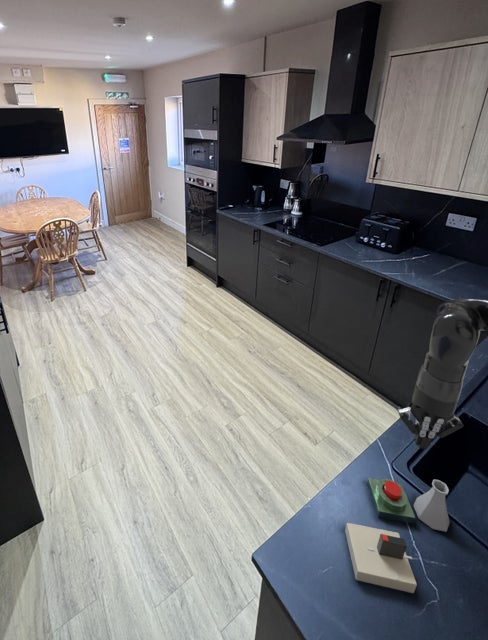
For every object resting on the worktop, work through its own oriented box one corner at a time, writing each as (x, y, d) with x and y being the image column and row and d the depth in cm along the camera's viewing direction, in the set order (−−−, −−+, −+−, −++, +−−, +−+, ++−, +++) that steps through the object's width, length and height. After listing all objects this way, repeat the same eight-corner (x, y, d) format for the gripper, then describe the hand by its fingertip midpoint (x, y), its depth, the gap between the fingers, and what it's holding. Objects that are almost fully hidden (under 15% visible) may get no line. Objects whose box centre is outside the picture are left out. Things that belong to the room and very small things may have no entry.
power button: (396, 486, 82) (398, 482, 81) (402, 502, 78) (404, 497, 78) (381, 484, 82) (382, 479, 82) (386, 499, 79) (387, 494, 79)
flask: (412, 493, 84) (420, 465, 80) (447, 508, 80) (457, 480, 77) (414, 520, 78) (423, 492, 75) (451, 538, 74) (462, 509, 71)
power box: (399, 489, 85) (403, 478, 83) (413, 524, 77) (417, 513, 76) (367, 483, 86) (369, 473, 85) (377, 517, 79) (380, 506, 77)
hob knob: (399, 551, 70) (404, 537, 68) (402, 559, 68) (407, 545, 67) (376, 546, 71) (380, 532, 69) (378, 554, 69) (382, 540, 68)
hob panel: (400, 542, 74) (403, 533, 73) (418, 594, 65) (422, 585, 64) (344, 530, 76) (346, 521, 75) (355, 580, 68) (358, 570, 67)
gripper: (463, 378, 72) (444, 435, 77) (397, 370, 75) (383, 426, 80) (484, 406, 65) (462, 466, 71) (410, 396, 68) (395, 454, 73)
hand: (420, 445), depth 75 cm, fingers closed
